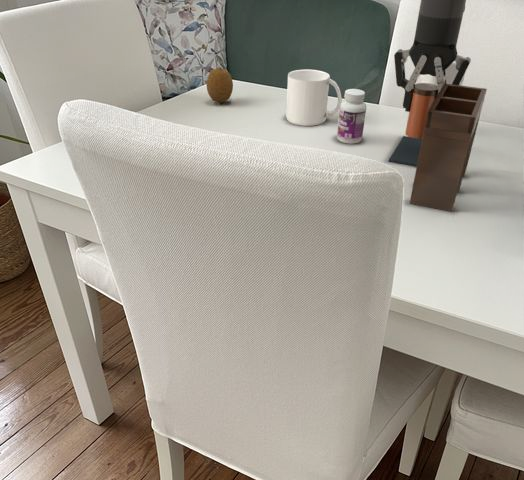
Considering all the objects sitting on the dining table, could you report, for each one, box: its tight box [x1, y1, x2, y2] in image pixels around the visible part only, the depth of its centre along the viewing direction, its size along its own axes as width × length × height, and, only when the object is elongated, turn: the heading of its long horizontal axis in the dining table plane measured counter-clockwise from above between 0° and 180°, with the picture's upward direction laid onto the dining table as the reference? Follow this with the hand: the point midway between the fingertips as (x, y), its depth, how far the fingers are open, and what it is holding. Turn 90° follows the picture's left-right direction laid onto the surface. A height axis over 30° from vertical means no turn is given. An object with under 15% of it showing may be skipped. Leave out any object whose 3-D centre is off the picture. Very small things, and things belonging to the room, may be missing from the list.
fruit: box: [206, 66, 234, 105], centre depth 134 cm, size 6×6×8 cm
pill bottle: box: [336, 88, 367, 145], centre depth 117 cm, size 5×5×10 cm
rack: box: [409, 83, 488, 212], centre depth 97 cm, size 7×16×16 cm, turn 157°
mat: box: [388, 135, 422, 167], centre depth 115 cm, size 8×14×1 cm, turn 157°
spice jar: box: [404, 82, 438, 139], centre depth 110 cm, size 5×5×9 cm
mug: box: [285, 68, 343, 127], centre depth 126 cm, size 12×9×9 cm
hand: (421, 112), depth 110 cm, fingers closed on spice jar, 4 cm apart
